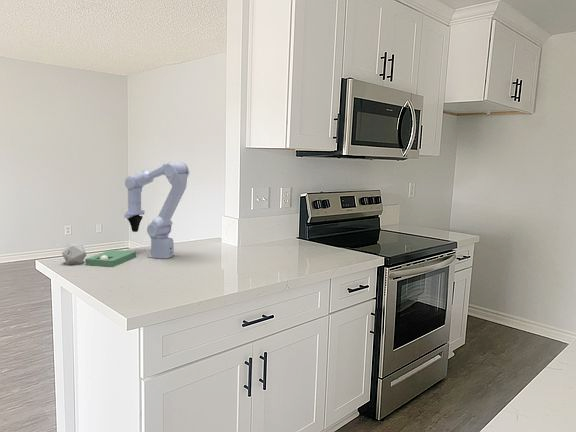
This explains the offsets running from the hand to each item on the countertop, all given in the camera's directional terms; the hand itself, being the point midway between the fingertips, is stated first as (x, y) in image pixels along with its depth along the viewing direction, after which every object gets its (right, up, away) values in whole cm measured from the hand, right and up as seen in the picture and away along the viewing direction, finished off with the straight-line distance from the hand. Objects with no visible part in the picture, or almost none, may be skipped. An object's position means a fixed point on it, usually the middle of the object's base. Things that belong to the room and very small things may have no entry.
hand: (135, 231), depth 211 cm
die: (-18, -13, -22) cm, 31 cm away
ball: (-5, -11, -22) cm, 25 cm away
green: (-5, -12, -16) cm, 21 cm away
